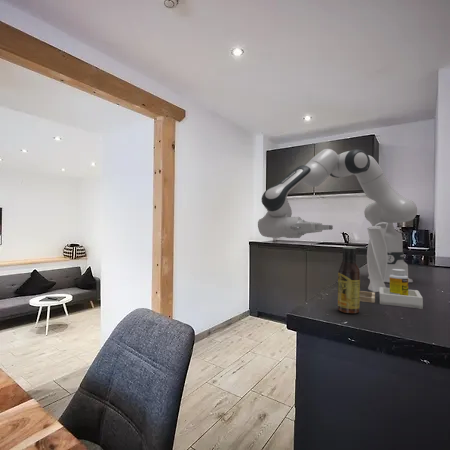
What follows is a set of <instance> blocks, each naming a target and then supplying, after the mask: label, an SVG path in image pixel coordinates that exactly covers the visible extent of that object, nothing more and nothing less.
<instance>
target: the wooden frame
mask: <svg viewBox="0 0 450 450" xmlns="http://www.w3.org/2000/svg"><path fill="white" fill-rule="evenodd" d="M360 302H364V303H372V304H373V303H374V304H376V292H373V291H365V290H360Z"/></svg>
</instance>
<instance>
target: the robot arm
mask: <svg viewBox="0 0 450 450" xmlns="http://www.w3.org/2000/svg"><path fill="white" fill-rule="evenodd" d="M353 175H354V176H355V178H356V179H357V181H358V183H359V185H360V187H361V188H362V191H363V193H364V194H365V196H366V198H368V199H369V200H371V201H374V202H373V203H372V202H371V203H369V204H368V205H367V206H366V207H365V208H364V211H363V212H364V218H365V219H366V220H367V221H368V222H369V223H370V224H371V227H372V226H375V225H376V224H378V223H382V222H386V223H388V226H387V229H386V233H385V237H384V239H385V242H386V247H387V254H388V262H387V270H386V275H385V280H384V283H390V275H391V274H392V269H403V270H405V272H406V276H408V283H414V281H413V279H412V278H409V268H408V267H409V266H408V263H407V262H405V260H404V259H405V253H404V251H403V249H404V248H403V247H404V246H403V243H404V242H403V235H402V234H401V233H400V232H399V231H397V230H396V227H394V224H396V223H397V224H403V223H407V222H410V221H413V220H414V219H415V218H416V216H417V214H418V207H417V205H416V203H415V202H414V201H412V199H411V200H410V199H409V198H407V197H404V196H403V195H401V194H400V193H398V191H396V190H395V188H393V186H392V185H391V183H390V181H389V180H388V179H387V177H386V175H385V173H384V171H383V169H382V168H381V166H380V165H379V163H378V162H377V160H376V159H375V158H374V157H373V156H371V155H369V154H367V152H365V150H363V149H358V148H357V149H351V150H348V151H344V152H342V153H339V154H338V153H337V152H336V151H335V150H333V149H332V148H324V149H322V150H321V151H319V152H317V153H316V154H315V155H314V156H313V157H312V158H311V159H310V160H309V161H307V163H306V164H305V165H302V164H301V165H299V166H297V167H295V168H294V169H293V170H292V171H291V172H289V173H288V174H286V176H284V177H283V178H282V179H281V180H280V181H278V182H277V183H276V184H273V186H271V187H269V188H268V189H266V190H265V191H264V192H263V193H262V194H261V195H262V196H261V203H262V205H263V207H264V208H265V209H266V211H267V212H266V214H265V215H264V216H262V218H259V219H258V221H257V227H258V228H257V229H258V232H259V234H261V236H262V237H264V238H275V239H276V238H277V239H279V238H286V239H300V238H301V237H302V236H304V235H306V234H312V233H313V234H314V233H321V232H323V231H328V230H330V231H331V230H333V229H334V225H332V224H330V225H329V224H323V223H321V222H314V221H306V220H304V219H303V218H301V217H300V216H292V214H293V212H292V208H291V205H290V203H289V201H288V199H287V198H288V194H289V193H290V192H291V191H292V190H293V189H295V187H297V186H298V185H300V184H301V183H302V184H303V185H305V186H307V187H311V188H314V187H318V186H320V185H322V184H323V183H324V182H325V180H327V178H328V177H329V176H330V177H331V178H332V177H333V178H344V177H345V178H346V177H350V176H353ZM386 225H387V224H379V225H377V226H381V228H386ZM367 279H368V280H370V278H369V275H368V276H367Z"/></svg>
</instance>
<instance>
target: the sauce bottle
mask: <svg viewBox="0 0 450 450" xmlns="http://www.w3.org/2000/svg"><path fill="white" fill-rule="evenodd" d="M357 250H358V249H357V247H354V246H353V247H352V246H343V247H342V249H341V252H342V261H341V264H340V266H339V268H338V271H337V272H338V273H337V307H338V308H337V310H338V311H340V312H341V313H344V314H359V312H360V306H361V305H360V302H361V301H360V291H361V278H360V277H361V274H360V273H361V271H360V268H359V266H358V264H357V256H356V255H357Z"/></svg>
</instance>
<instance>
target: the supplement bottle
mask: <svg viewBox="0 0 450 450" xmlns="http://www.w3.org/2000/svg"><path fill="white" fill-rule="evenodd" d="M408 278H409V275H408V276H406V272H405V270H403V269H392V274H391V275H390V282H389V288H390V294H395V295H406V296H408V290H409V282H408Z"/></svg>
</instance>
